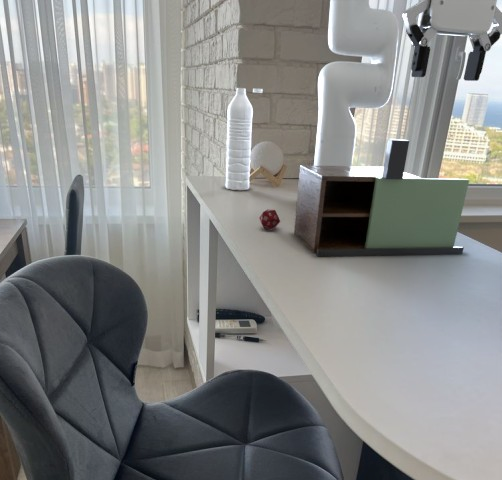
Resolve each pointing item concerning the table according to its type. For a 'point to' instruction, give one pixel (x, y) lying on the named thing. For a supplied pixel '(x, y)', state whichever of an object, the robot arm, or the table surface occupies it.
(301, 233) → the cabinet
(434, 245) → the sliding door
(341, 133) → the robot arm
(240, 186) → the water bottle
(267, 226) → the dice
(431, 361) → the table surface
